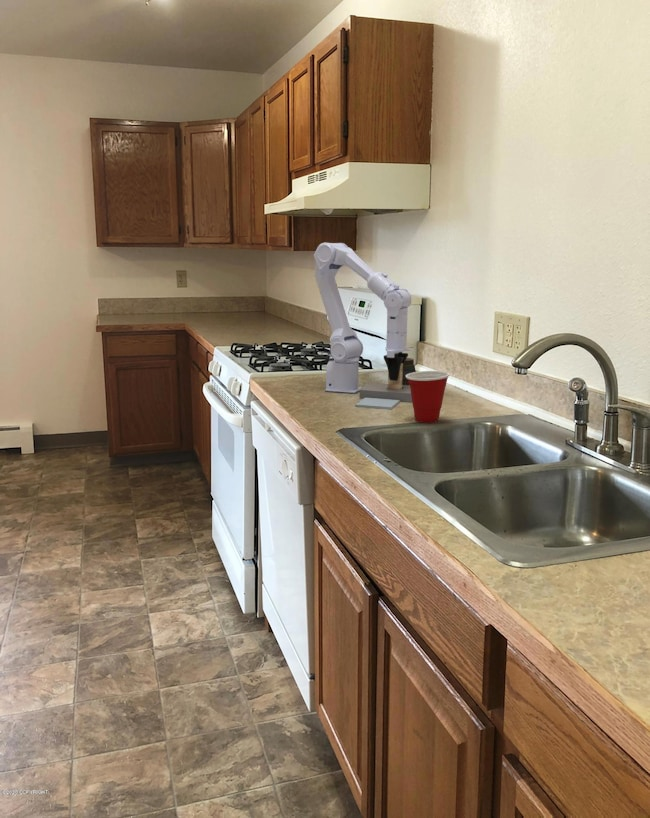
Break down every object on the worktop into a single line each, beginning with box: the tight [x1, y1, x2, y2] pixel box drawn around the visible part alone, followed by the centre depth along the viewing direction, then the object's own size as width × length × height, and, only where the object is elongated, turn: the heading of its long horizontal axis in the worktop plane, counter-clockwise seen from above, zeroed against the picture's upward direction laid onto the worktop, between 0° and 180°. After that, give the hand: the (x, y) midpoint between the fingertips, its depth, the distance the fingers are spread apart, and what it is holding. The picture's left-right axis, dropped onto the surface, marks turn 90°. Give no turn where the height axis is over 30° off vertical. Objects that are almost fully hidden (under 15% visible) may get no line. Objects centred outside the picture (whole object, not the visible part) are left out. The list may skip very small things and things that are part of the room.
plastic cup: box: [406, 370, 450, 424], centre depth 178 cm, size 11×11×12 cm
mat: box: [355, 398, 401, 410], centre depth 197 cm, size 10×10×1 cm
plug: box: [387, 363, 403, 390], centre depth 206 cm, size 3×3×8 cm
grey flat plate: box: [358, 382, 412, 403], centre depth 207 cm, size 18×12×2 cm, turn 71°
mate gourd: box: [402, 357, 417, 385], centre depth 227 cm, size 7×8×10 cm
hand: (395, 379), depth 206 cm, fingers closed on plug, 3 cm apart
